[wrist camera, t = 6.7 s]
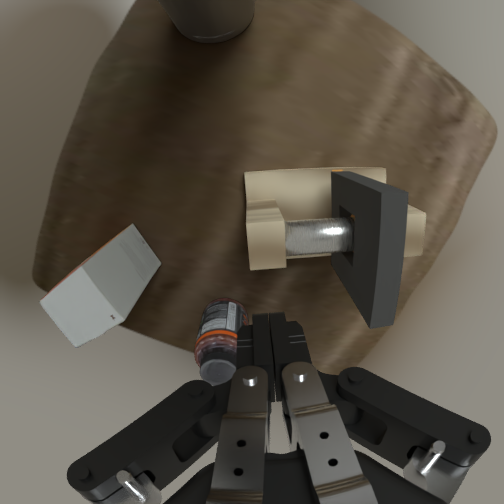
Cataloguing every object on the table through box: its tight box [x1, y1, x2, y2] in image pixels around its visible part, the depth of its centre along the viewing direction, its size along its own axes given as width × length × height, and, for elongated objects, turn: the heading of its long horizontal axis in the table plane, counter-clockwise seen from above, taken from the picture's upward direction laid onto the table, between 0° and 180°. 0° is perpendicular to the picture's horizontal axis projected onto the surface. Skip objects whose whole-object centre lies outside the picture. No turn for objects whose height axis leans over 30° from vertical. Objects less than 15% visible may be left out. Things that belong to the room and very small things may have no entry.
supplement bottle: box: [194, 298, 249, 386], centre depth 33 cm, size 6×6×11 cm
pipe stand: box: [244, 167, 426, 270], centre depth 29 cm, size 10×16×11 cm, turn 94°
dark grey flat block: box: [331, 171, 408, 329], centre depth 24 cm, size 10×2×12 cm, turn 4°
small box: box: [39, 224, 161, 348], centre depth 30 cm, size 8×6×13 cm
